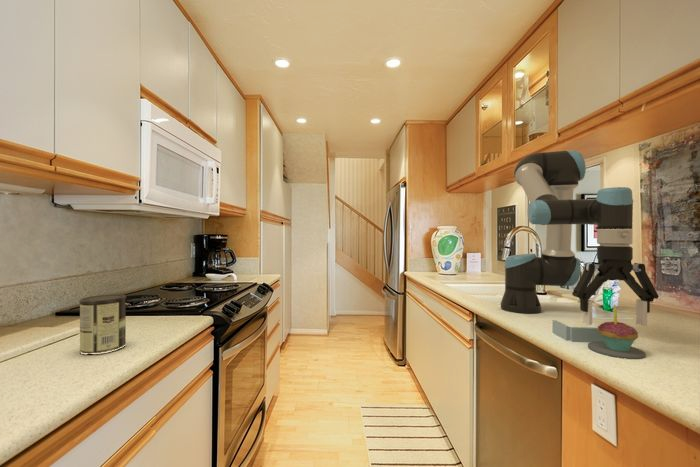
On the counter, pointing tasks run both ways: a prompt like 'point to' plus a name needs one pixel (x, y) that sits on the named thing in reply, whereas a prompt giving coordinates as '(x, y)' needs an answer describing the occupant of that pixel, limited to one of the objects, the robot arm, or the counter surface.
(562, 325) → the pen walls
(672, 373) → the counter surface
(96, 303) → the coffee can
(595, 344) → the pad
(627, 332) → the cupcake
